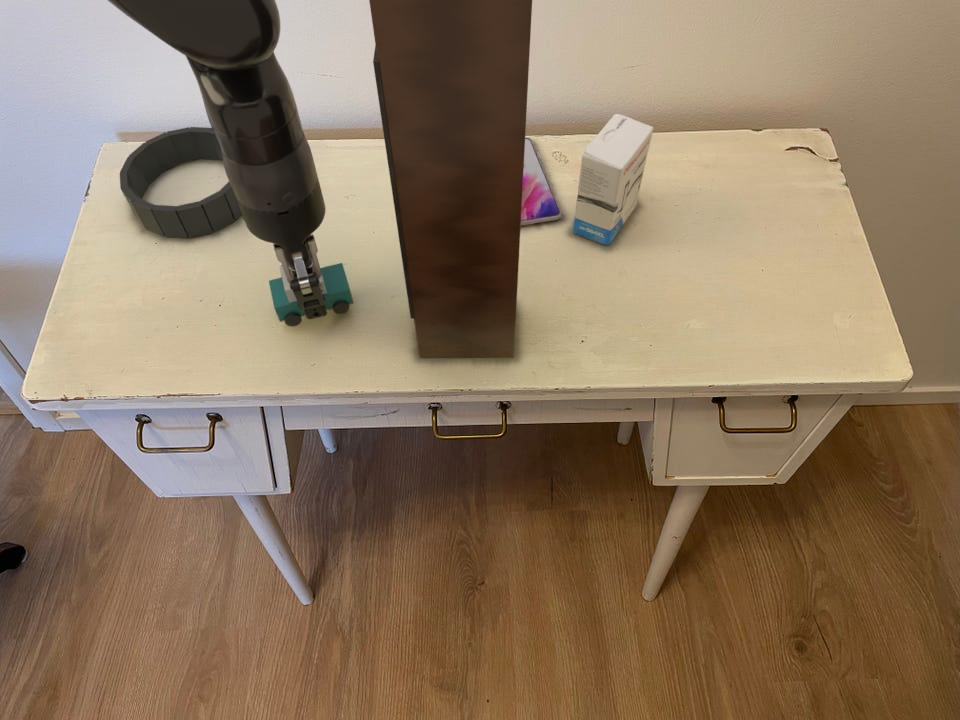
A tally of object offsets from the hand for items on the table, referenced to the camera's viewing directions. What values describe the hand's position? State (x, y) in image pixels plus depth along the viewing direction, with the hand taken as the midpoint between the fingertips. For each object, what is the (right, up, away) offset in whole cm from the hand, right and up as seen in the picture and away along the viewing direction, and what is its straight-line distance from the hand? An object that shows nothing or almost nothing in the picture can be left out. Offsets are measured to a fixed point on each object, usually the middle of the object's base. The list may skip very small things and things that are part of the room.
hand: (313, 298), depth 79 cm
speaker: (+17, -4, 0) cm, 17 cm away
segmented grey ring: (-18, +14, +12) cm, 26 cm away
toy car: (0, 0, +1) cm, 1 cm away
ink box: (+33, +10, +9) cm, 36 cm away
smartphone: (+23, +16, +13) cm, 31 cm away
